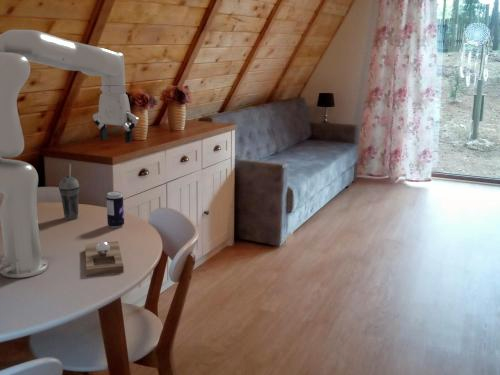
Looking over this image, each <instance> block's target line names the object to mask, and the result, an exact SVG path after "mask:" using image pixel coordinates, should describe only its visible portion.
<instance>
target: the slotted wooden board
mask: <svg viewBox="0 0 500 375" xmlns="http://www.w3.org/2000/svg"><path fill="white" fill-rule="evenodd" d="M106 242H107V243H108V244H109V246H110V250H109V252H108V253H107V254H105V255H100V254H99V253H98V252H97V251H96V246H97V244H98V243H99V242H96V243H95V242H92V243H85V244H84V245H85V246H84V248H85V249H84V251H85V263H86V264H85V266H86V267H85V268H86V277H91V276H100V275H101V276H102V275H110V274H118V273H121V274H122V273H124V272H125V271H124V270H125V269H124V262H123V258H122V254H121V248H120V243H119V241H106Z"/></svg>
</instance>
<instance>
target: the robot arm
mask: <svg viewBox="0 0 500 375" xmlns="http://www.w3.org/2000/svg"><path fill="white" fill-rule="evenodd" d="M31 63H36V64H39V65H40V64H41V65H45V66H47V67H48V66H49V67H51V68H52V67H53V68H57V69H61V70H65V71H75V72H77V71H78V72H81V73H82V74H84V75H86V76H89V77H90V76H91V77H101V86H99V91H101V92H102V93H100V95H99V100H98V112H96V113H94V114H92V119H93V120H94V124H95V125H96V126H97V129H99V137H100V141H102V142H104V141H106V140H108V138H109V137H108V128H107V126H122V127H123V128H124V129H125V131H124V140H125V141H124V142H125V143H126V144H130V143H132V142H133V131H134V129H135V128H136V127H137V124H138V122H139V117H137V116H136V115H135V114H133V113H131V106H130V105H131V104H130V101H129V97H128V94H126V92H127V90H126V89H127V88H126V74H125V73H126V68H125V55H124V54H123V53H122V52H120V51H112V50H110V49H106V48H104V47H99V46H95V45H89V44H86V43H82V42H77V41H74V40H73V41H72V40H68V39H65V38H62V37H58V36H55V35H52V34H50V33H46V32H42V31H40V30H36V29H9V30H6V31H4V32H2V33H1V34H0V194H3V198H2V201H1V204H0V228H1V235H2V243H3V244H2V245H3V253H4V257H3V258H1V262H0V274H1V275H2V276H4V277H6V278H11V279H15V278H16V279H21V278H29V277H33V276H36V275H38V274H41V273H43V272H44V271H46V270H47V269H48V267H49V264H48V261H47V259H45V258H42V252H41V251H42V250H41V249H42V248H41V241H40V240H41V239H40V229H39V218H38V206H37V203H38V200H37V194H38V188H39V187H38V185H39V174H38V172H37V170H36V168H35V167H34V166H33V165H32V164H30V163H28V162H26V161H22V160H17V159H12V158H15V157H18V156H20V155H22V153H23V151H24V150H25V139H24V134H23V129H22V126H21V121H20V116H19V111H18V104H17V101H18V96H19V94H20V91H21V89H23V86H24V85H25V83H26V82H27V81H28V79H29V77H30V74H31ZM131 121H132V122H131Z"/></svg>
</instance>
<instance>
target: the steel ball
mask: <svg viewBox="0 0 500 375" xmlns="http://www.w3.org/2000/svg"><path fill="white" fill-rule="evenodd" d="M107 242H108V241H104V240H103V241H99V242H97V243H98V244H97V246H96V251H97V252H98V253H99V254H100V255H105V254H107V253H108V252H109V250H110V246H109V244H108V243H107Z"/></svg>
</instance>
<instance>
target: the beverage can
mask: <svg viewBox="0 0 500 375" xmlns="http://www.w3.org/2000/svg"><path fill="white" fill-rule="evenodd" d="M105 199H106V217H107V219H106V220H107V225H108V226H109V227H110V228H112V229H119V228H122V227H123V226H124V224H125V214H124V213H125V210H124V209H125V207H124V206H125V205H124V196H123V194H122V191H109V192H107V194H106V198H105Z"/></svg>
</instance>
